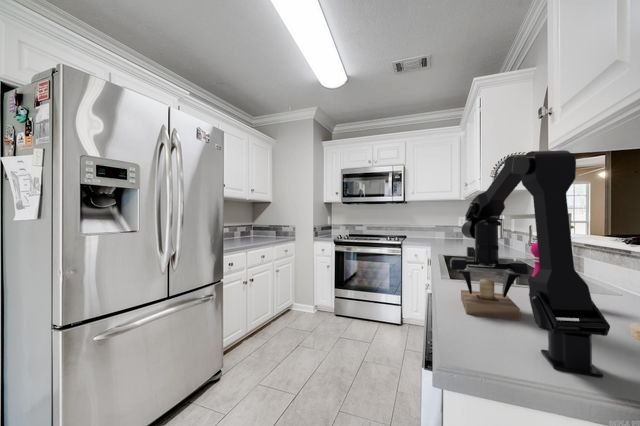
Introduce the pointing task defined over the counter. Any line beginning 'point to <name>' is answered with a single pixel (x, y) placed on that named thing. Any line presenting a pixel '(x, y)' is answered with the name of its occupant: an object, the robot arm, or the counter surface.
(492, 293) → the peg
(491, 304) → the board
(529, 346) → the counter surface
